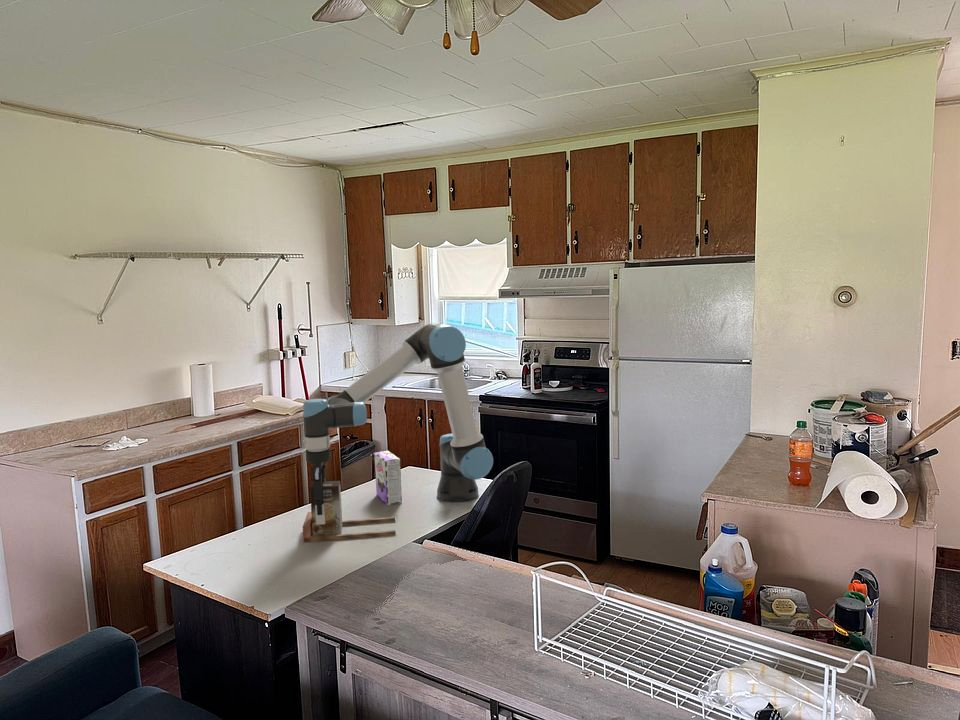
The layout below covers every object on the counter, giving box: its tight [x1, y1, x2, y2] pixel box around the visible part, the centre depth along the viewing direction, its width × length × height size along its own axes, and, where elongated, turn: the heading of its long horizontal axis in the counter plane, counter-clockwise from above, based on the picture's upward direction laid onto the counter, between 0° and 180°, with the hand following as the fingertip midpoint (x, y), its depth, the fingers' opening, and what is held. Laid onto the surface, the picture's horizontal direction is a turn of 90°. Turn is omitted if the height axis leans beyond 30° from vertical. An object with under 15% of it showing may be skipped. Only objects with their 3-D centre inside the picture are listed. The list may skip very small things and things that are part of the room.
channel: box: [302, 511, 397, 543], centre depth 214 cm, size 28×13×5 cm, turn 98°
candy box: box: [373, 450, 403, 506], centre depth 245 cm, size 14×6×16 cm, turn 25°
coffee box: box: [309, 480, 343, 537], centre depth 213 cm, size 9×6×16 cm
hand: (321, 519), depth 213 cm, fingers closed on coffee box, 6 cm apart
